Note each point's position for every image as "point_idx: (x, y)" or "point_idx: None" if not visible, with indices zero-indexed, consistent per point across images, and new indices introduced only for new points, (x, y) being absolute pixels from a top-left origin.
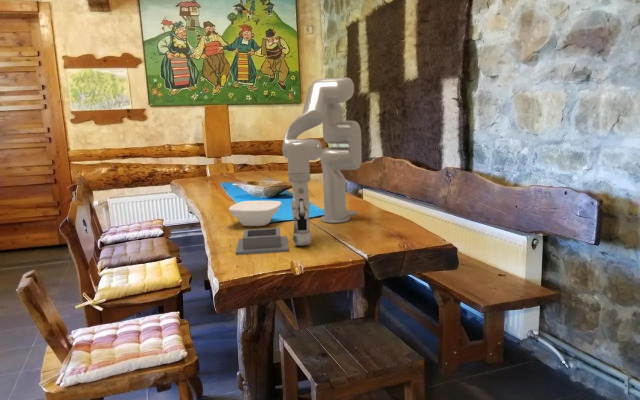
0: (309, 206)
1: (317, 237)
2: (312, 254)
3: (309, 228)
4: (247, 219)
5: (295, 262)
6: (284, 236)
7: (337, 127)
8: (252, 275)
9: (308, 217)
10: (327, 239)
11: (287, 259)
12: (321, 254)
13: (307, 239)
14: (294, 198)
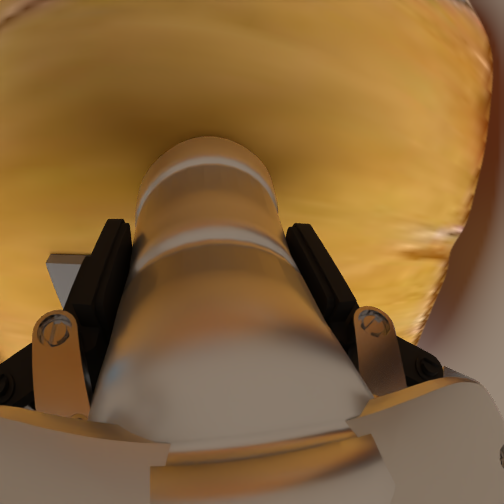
0: (351, 458)
1: (39, 85)
2: (379, 163)
3: (238, 184)
4: None
5: (419, 244)
6: (54, 273)
7: None
8: (419, 329)
9: (281, 273)
10: (100, 17)
11: (379, 266)
12: (398, 124)
13: (270, 179)
14: None
